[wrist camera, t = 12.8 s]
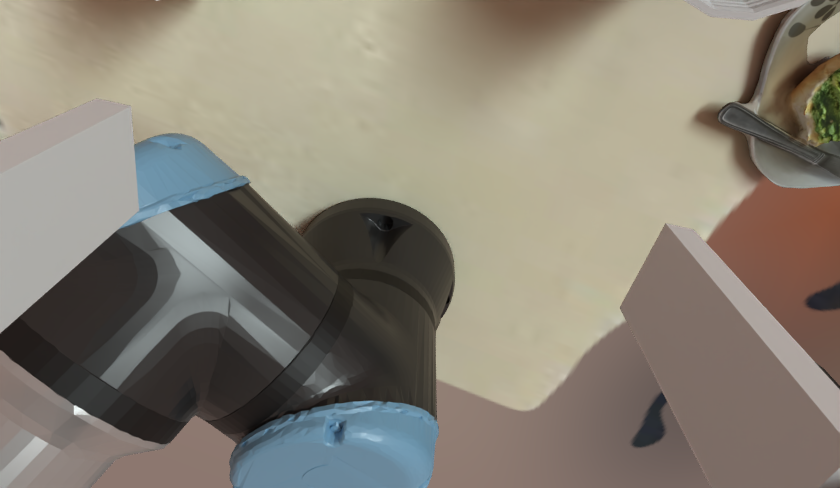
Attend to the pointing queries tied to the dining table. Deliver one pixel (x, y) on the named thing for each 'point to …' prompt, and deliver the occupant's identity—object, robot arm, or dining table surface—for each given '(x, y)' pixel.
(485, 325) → the dining table surface
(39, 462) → the robot arm
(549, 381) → the dining table surface
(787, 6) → the plastic cup
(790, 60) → the salad plate
